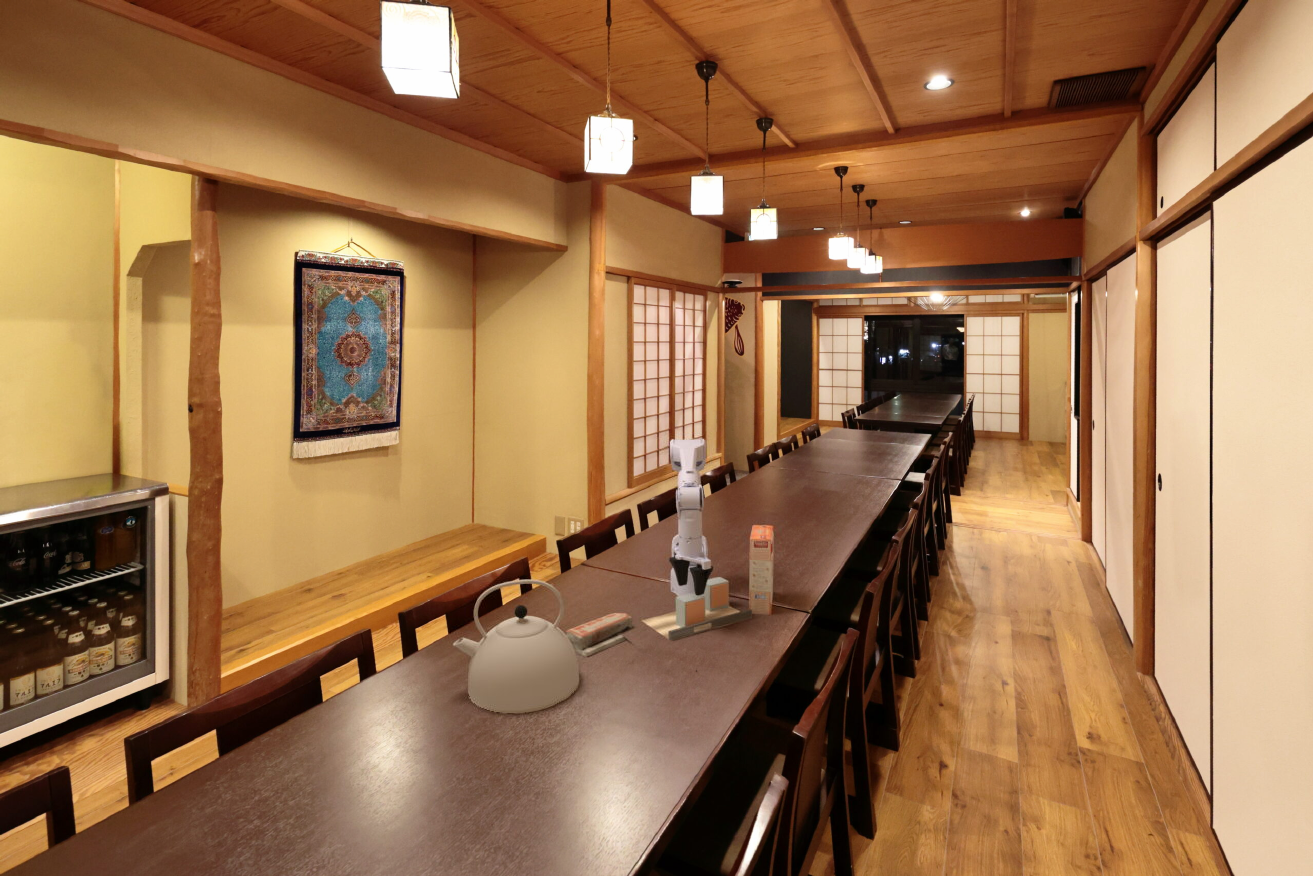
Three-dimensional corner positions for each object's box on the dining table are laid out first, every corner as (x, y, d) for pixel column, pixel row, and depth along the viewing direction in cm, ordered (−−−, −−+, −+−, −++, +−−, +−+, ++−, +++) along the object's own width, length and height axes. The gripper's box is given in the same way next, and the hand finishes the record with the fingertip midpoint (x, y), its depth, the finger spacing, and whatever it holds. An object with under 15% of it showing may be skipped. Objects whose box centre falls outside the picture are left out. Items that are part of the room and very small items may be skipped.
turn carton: (676, 624, 165) (675, 597, 164) (696, 619, 168) (695, 592, 167) (685, 630, 162) (685, 602, 161) (706, 624, 165) (705, 597, 164)
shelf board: (641, 625, 168) (640, 612, 168) (719, 604, 180) (719, 593, 180) (670, 645, 156) (670, 632, 156) (752, 622, 168) (752, 610, 168)
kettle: (453, 723, 126) (446, 608, 123) (458, 668, 147) (452, 569, 144) (586, 704, 132) (582, 593, 129) (572, 654, 153) (568, 558, 150)
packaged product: (585, 639, 150) (557, 627, 157) (585, 660, 151) (558, 647, 158) (642, 615, 163) (614, 605, 170) (642, 634, 164) (615, 623, 171)
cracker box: (772, 619, 170) (772, 539, 167) (748, 618, 171) (748, 538, 169) (774, 599, 184) (774, 524, 181) (751, 597, 185) (751, 523, 182)
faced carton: (701, 606, 176) (700, 581, 175) (719, 602, 179) (719, 576, 178) (710, 612, 172) (710, 585, 172) (729, 607, 176) (729, 581, 175)
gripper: (660, 531, 167) (661, 584, 169) (693, 545, 155) (693, 602, 156) (684, 527, 170) (685, 578, 172) (718, 540, 158) (718, 596, 160)
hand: (691, 589), depth 165 cm, fingers open, 7 cm apart
